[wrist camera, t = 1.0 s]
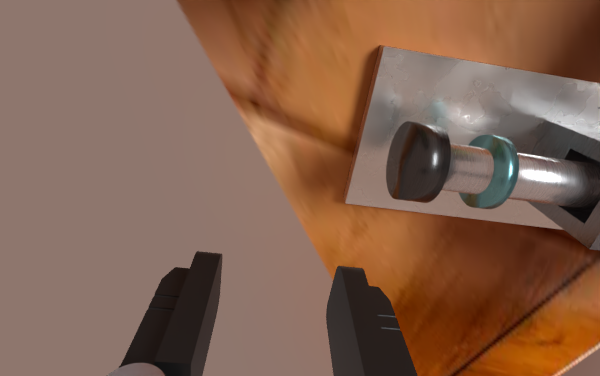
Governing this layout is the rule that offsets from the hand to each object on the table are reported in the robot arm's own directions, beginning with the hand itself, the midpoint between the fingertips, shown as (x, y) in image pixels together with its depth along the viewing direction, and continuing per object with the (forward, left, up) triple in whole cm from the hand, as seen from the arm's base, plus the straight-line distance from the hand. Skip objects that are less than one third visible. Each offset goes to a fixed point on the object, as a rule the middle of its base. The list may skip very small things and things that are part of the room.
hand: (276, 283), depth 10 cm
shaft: (-17, 0, -15) cm, 23 cm away
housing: (-19, 0, -19) cm, 27 cm away
